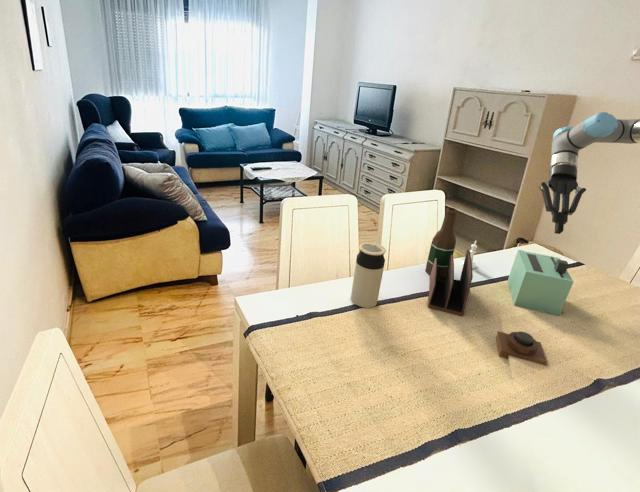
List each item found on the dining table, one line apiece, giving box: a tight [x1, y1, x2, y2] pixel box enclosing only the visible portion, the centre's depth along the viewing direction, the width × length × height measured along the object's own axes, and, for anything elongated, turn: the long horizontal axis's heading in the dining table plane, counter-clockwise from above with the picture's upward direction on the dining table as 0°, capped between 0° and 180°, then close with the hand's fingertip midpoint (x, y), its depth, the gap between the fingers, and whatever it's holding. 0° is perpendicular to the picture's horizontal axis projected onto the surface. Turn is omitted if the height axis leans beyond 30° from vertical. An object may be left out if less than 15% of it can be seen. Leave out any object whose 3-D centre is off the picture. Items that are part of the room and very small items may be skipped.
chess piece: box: [461, 240, 478, 269], centre depth 139 cm, size 5×5×10 cm
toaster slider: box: [554, 259, 569, 273], centre depth 114 cm, size 2×2×3 cm
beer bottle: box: [425, 207, 458, 277], centre depth 130 cm, size 8×8×24 cm
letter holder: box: [427, 249, 474, 317], centre depth 119 cm, size 10×20×14 cm, turn 158°
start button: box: [515, 331, 534, 346], centre depth 97 cm, size 4×4×2 cm
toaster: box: [507, 249, 574, 317], centre depth 121 cm, size 12×16×12 cm
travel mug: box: [350, 242, 387, 309], centre depth 113 cm, size 8×8×18 cm
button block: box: [495, 330, 548, 366], centre depth 98 cm, size 10×8×4 cm
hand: (558, 231), depth 122 cm, fingers closed
